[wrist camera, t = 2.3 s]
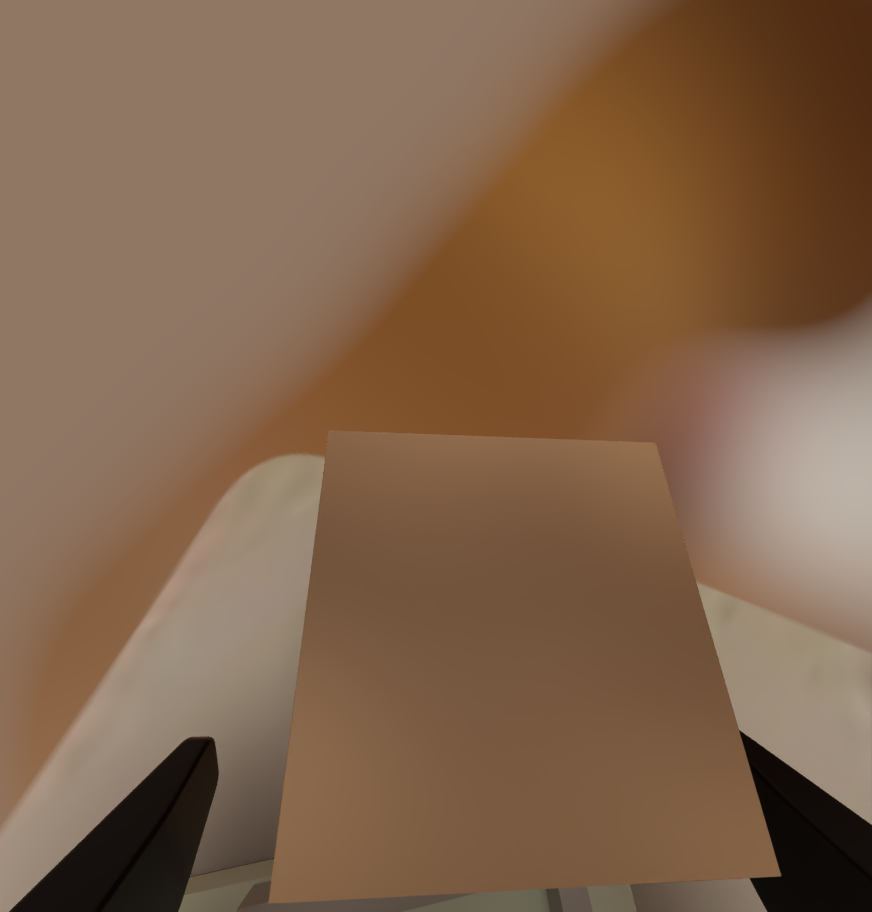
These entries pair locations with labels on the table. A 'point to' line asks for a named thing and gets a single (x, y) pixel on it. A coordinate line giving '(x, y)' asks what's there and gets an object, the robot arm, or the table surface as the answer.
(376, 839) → the walnut pillar
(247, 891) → the footing plate
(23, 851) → the table surface
